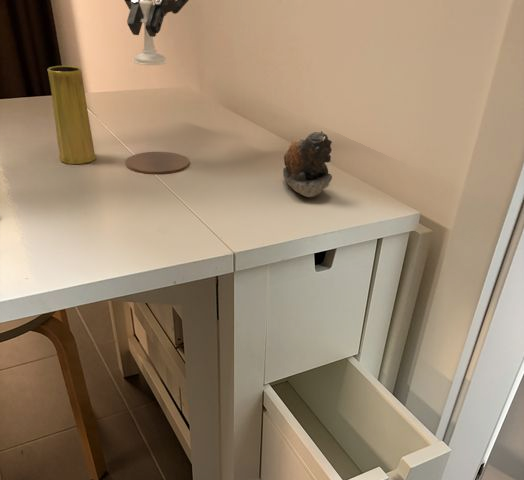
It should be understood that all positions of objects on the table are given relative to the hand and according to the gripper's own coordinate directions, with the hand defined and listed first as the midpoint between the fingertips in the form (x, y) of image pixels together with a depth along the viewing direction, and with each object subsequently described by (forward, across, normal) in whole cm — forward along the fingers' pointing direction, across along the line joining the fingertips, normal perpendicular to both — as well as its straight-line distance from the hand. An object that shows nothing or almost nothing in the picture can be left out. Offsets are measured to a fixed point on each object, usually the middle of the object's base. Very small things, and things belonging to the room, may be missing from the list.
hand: (141, 31), depth 82 cm
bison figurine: (+14, +27, +15) cm, 34 cm away
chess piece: (+2, 0, +5) cm, 5 cm away
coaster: (+13, 0, +16) cm, 21 cm away
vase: (+15, -14, +14) cm, 25 cm away
